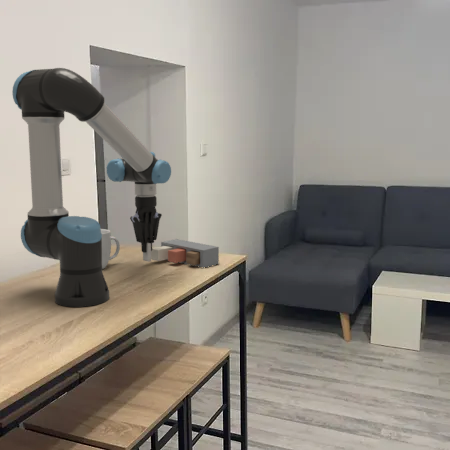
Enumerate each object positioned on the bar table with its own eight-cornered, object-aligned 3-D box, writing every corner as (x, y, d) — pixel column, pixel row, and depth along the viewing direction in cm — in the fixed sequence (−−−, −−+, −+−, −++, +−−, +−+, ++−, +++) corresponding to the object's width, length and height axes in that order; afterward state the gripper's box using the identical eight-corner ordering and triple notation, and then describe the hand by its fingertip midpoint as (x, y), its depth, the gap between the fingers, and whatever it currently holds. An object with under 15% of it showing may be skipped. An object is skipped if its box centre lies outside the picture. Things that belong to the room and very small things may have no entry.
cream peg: (158, 261, 201) (158, 250, 201) (150, 259, 204) (150, 248, 203) (176, 256, 208) (176, 246, 207) (168, 255, 210) (168, 245, 210)
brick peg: (175, 263, 198) (175, 252, 198) (168, 261, 201) (168, 250, 200) (193, 258, 205) (193, 248, 204) (185, 257, 208) (185, 246, 207)
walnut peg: (194, 265, 195) (194, 253, 195) (186, 263, 198) (186, 252, 197) (211, 260, 202) (211, 249, 201) (203, 259, 205) (203, 248, 204)
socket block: (203, 268, 196) (203, 250, 195) (161, 258, 211) (161, 241, 209) (218, 264, 202) (218, 246, 201) (176, 255, 216) (176, 238, 215)
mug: (112, 261, 206) (111, 226, 204) (127, 266, 198) (126, 230, 196) (74, 267, 197) (73, 230, 195) (88, 273, 189) (87, 235, 186)
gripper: (138, 198, 189) (139, 265, 193) (166, 194, 198) (167, 259, 202) (124, 196, 193) (126, 262, 197) (152, 193, 203) (153, 256, 207)
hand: (147, 260), depth 200 cm, fingers closed
